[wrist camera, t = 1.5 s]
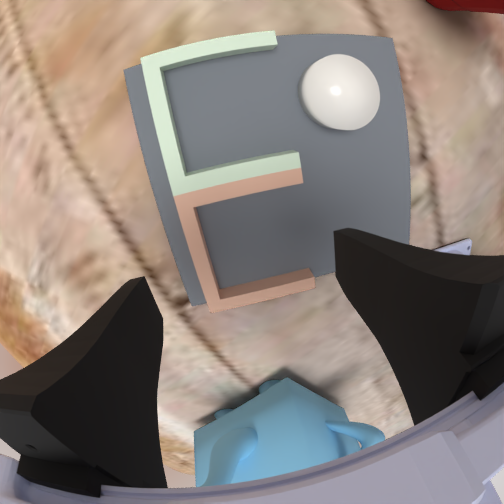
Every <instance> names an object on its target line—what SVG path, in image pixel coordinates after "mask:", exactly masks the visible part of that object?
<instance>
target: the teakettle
mask: <svg viewBox="0 0 504 504" xmlns="http://www.w3.org/2000/svg"><path fill="white" fill-rule="evenodd" d="M259 393H260V394H259V395H258V396H256V397H254V398H253V399H251V400H249V401H248V402H246V403H244V404H243V405H241V406H239V407H237V408H236V409H234V410H233V409H222V410H219V411H217V412H216V413H215V414H214V416H215V418H216V420H214V421H213V422H211V423H209V424H207V425H205V426H203V427H201V428H199V429H197V430H195V431H194V453H195V476H196V477H195V478H196V487H205V486H216V485H225V484H232V483H240V482H246V481H252V480H258V479H263V478H268V477H273V476H277V475H282V474H286V473H290V472H294V471H298V470H302V469H306V468H309V467H313V466H316V465H320V464H323V463H326V462H329V461H332V460H335V459H338V458H341V457H344V456H347V455H349V454H352V453H355V452H357V451H360V450H363V449H365V448H368V447H370V446H372V445H375V444H377V443H379V442H382V441H384V440H385V436H384V434H383V432H382V431H380V430H379V429H378V428H376V427H374V426H371V425H369V424H364V423H358V422H349V420H348V417H347V415H346V413H345V410H344V408H342V407H340V406H338V405H336V404H334V403H332V402H330V401H328V400H327V399H325V398H323V397H321V396H319V395H318V394H316V393H314V392H312V391H310V390H309V389H307V388H305V387H303V386H302V385H300V384H298V383H296V382H295V381H293V380H291V379H290V378H288V377H286V378H284V379H283V380H270V381H267V382H265V383H263V384H262V385H261V386H260V387H259ZM357 440H358V441H359V442H360V443H361V445H362V447H361V448H360V446H359V444H358V441H357Z"/></svg>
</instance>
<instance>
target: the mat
mask: <svg viewBox="0 0 504 504" xmlns="http://www.w3.org/2000/svg"><path fill="white" fill-rule="evenodd" d="M276 39H277V43H278V45H277V46H276V47H275V48H274V49H273V50H266V51H257V52H250V53H243V54H237V55H231V56H225V57H220V58H215V59H210V60H205V61H201V62H196V63H192V64H188V65H184V66H180V67H176V68H173V69H169V70H166V71H163V72H164V77H165V81H166V86H167V91H168V95H169V100H170V104H171V109H172V113H173V118H174V122H175V126H176V130H177V135H178V139H179V143H180V147H181V151H182V155H183V159H184V163H185V167H186V171H187V173H188V172H192V171H196V170H200V169H204V168H208V167H212V166H216V165H220V164H225V163H229V162H233V161H238V160H243V159H247V158H252V157H257V156H262V155H267V154H273V153H278V152H283V151H289V150H294V151H297V152H299V157H300V163H301V170H302V177H303V183H301V184H296V185H291V186H286V187H281V188H276V189H271V190H267V191H262V192H257V193H253V194H248V195H244V196H239V197H235V198H231V199H226V200H222V201H218V202H214V203H210V204H205V205H201V206H197V207H196V209H197V213H198V217H199V220H200V224H201V227H202V231H203V235H204V238H205V242H206V245H207V249H208V252H209V256H210V259H211V262H212V266H213V269H214V273H215V276H216V279H217V283H218V286H219V289H222V288H227V287H231V286H235V285H240V284H244V283H248V282H253V281H257V280H261V279H265V278H269V277H273V276H278V275H282V274H286V273H290V272H294V271H298V270H302V269H306V268H309V269H310V270H311V272H312V274H313V275H314V277H318V276H322V275H325V274H329V273H333V272H336V271H335V250H334V234H333V231H335V230H340V229H344V228H354V229H358V230H362V231H365V232H368V233H372V234H375V235H378V236H381V237H384V238H387V239H391V240H394V241H397V242H401V243H404V244H408V245H409V236H410V205H411V189H410V158H409V142H408V130H407V120H406V112H405V104H404V96H403V90H402V84H401V78H400V72H399V67H398V62H397V57H396V52H395V48H394V43H393V39H392V38H387V37H377V36H366V35H349V34H299V35H282V36H276ZM334 54H343V55H348V56H351V57H354V58H356V59H358V60H359V61H361V62H362V63H364V64H365V65H366V66H367V67H368V68H369V69H370V71H371V72H372V73H373V75H374V76H375V78H376V80H377V83H378V86H379V91H380V103H379V108H378V111H377V113H376V115H375V116H374V118H373V119H372V120H371V121H370V122H369V123H368V124H367V125H365V126H364V127H361V128H359V129H356V130H340V129H331V128H326V127H323V126H321V125H319V124H317V123H315V122H314V121H313V120H311V119H310V118H309V117H308V116H307V114H306V113H305V112H304V110H303V108H302V107H301V104H300V102H299V98H298V82H299V79H300V77H301V75H302V73H303V72H304V70H305V69H306V68H307V67H308V66H310V65H311V64H313V63H314V62H316V61H318V60H320V59H322V58H324V57H326V56H329V55H334ZM124 75H125V80H126V85H127V90H128V94H129V99H130V104H131V108H132V113H133V117H134V121H135V125H136V130H137V134H138V138H139V142H140V146H141V150H142V153H143V157H144V161H145V165H146V168H147V172H148V175H149V179H150V183H151V186H152V189H153V193H154V196H155V200H156V203H157V206H158V210H159V213H160V216H161V219H162V222H163V225H164V229H165V232H166V235H167V238H168V241H169V244H170V247H171V250H172V253H173V256H174V259H175V261H176V264H177V267H178V270H179V273H180V276H181V278H182V281H183V284H184V287H185V289H186V292H187V295H188V297H189V300H190V303H191V305H192V306H196V305H201V304H205V303H207V302H206V299H205V296H204V293H203V290H202V287H201V284H200V281H199V278H198V275H197V272H196V269H195V266H194V263H193V260H192V257H191V254H190V250H189V247H188V244H187V241H186V238H185V234H184V231H183V228H182V224H181V221H180V218H179V214H178V211H177V207H176V204H175V200H174V197H173V193H172V190H171V186H170V183H169V179H168V175H167V171H166V168H165V164H164V160H163V156H162V152H161V148H160V144H159V140H158V136H157V132H156V128H155V124H154V120H153V115H152V111H151V107H150V102H149V98H148V93H147V88H146V83H145V79H144V74H143V69H142V64H139V65H136V66H133V67H130V68H128V69H125V70H124Z"/></svg>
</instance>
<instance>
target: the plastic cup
mask: <svg viewBox="0 0 504 504" xmlns="http://www.w3.org/2000/svg"><path fill="white" fill-rule="evenodd" d="M426 1H427V2H428V3H430V4H431V5H433V6H434V7H436V8H439V9H442V10H448V11H460V10H468V11H472V12H488V13H499V14H504V0H426Z"/></svg>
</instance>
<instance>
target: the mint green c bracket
mask: <svg viewBox="0 0 504 504" xmlns="http://www.w3.org/2000/svg"><path fill="white" fill-rule="evenodd" d="M277 45H278V43H277V39H276V35H275V31H263V32H254V33H246V34H239V35H233V36H226V37H221V38H215V39H210V40H205V41H201V42H196V43H192V44H187V45H183V46H179V47H176V48H172V49H168V50H165V51H161V52H158V53H154V54H151V55H148V56H145V57H142V58H141V64H142V69H143V74H144V79H145V83H146V88H147V93H148V98H149V102H150V107H151V111H152V115H153V120H154V124H155V128H156V132H157V136H158V140H159V144H160V148H161V152H162V156H163V160H164V164H165V168H166V171H167V175H168V179H169V183H170V186H171V190H172V193H173V196H177V195H181V194H184V193H188V192H192V191H196V190H200V189H204V188H208V187H212V186H216V185H221V184H225V183H229V182H234V181H238V180H242V179H247V178H252V177H256V176H261V175H266V174H271V173H276V172H281V171H286V170H291V169H297V168H301V163H300V157H299V152H297V151H294V150H289V151H283V152H278V153H273V154H267V155H262V156H257V157H252V158H247V159H243V160H238V161H233V162H229V163H225V164H220V165H216V166H212V167H208V168H204V169H200V170H196V171H192V172H188V173H187V171H186V167H185V163H184V159H183V155H182V151H181V147H180V143H179V139H178V135H177V130H176V126H175V122H174V118H173V113H172V109H171V104H170V100H169V95H168V91H167V86H166V81H165V77H164V72H163V71H166V70H169V69H173V68H176V67H180V66H184V65H188V64H192V63H196V62H201V61H205V60H210V59H215V58H220V57H225V56H231V55H237V54H243V53H250V52H257V51H266V50H273V49H274V48H275V47H276V46H277Z"/></svg>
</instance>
